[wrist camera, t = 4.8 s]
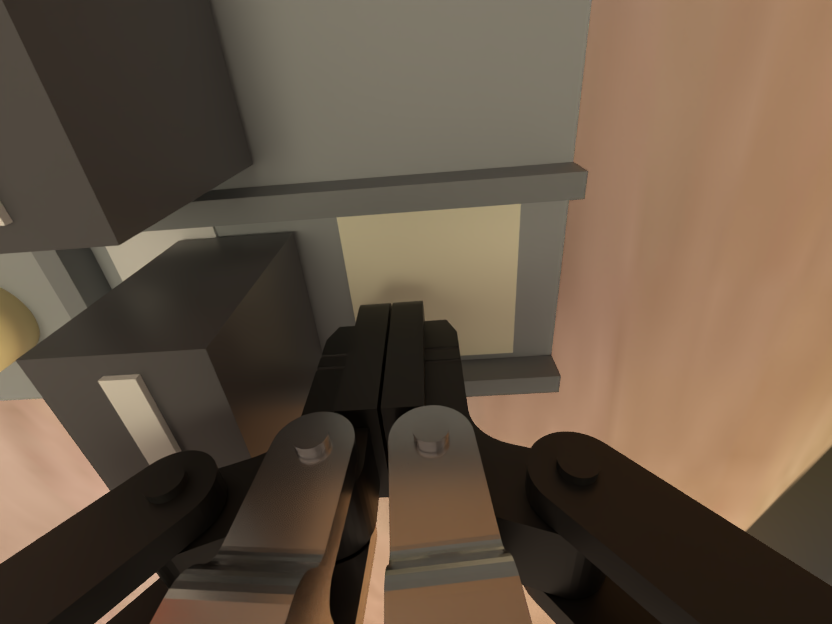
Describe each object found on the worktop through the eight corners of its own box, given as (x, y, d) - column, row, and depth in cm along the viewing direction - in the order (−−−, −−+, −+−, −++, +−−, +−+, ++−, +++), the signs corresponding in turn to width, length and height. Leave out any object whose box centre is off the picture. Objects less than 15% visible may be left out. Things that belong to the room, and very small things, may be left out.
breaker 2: (293, 232, 10) (202, 353, 6) (323, 357, 13) (271, 516, 8) (178, 240, 11) (8, 364, 6) (227, 363, 13) (125, 522, 8)
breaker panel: (560, -127, 9) (648, -244, 6) (527, 319, 16) (560, 396, 12) (-251, -37, 10) (-611, -92, 7) (22, 350, 16) (-89, 430, 13)
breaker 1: (191, -62, 8) (-124, -235, 3) (252, 164, 10) (112, 249, 5) (35, -45, 8) (-473, -190, 3) (128, 174, 10) (-108, 265, 5)
